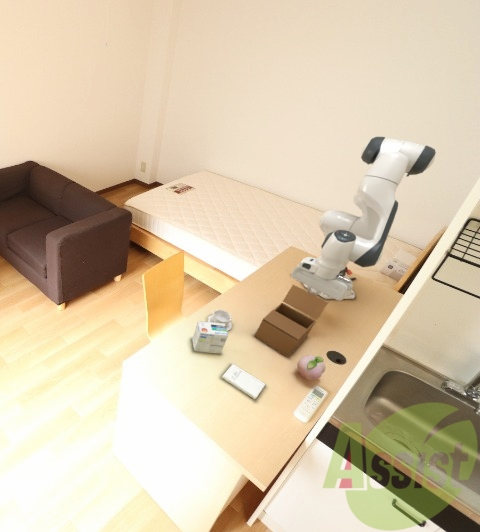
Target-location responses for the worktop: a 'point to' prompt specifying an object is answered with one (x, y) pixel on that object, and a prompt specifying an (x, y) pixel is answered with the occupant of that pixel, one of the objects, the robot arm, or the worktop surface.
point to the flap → (305, 302)
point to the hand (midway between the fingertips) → (310, 296)
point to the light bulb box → (209, 337)
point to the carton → (284, 329)
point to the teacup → (221, 318)
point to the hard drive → (244, 381)
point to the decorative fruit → (311, 367)
